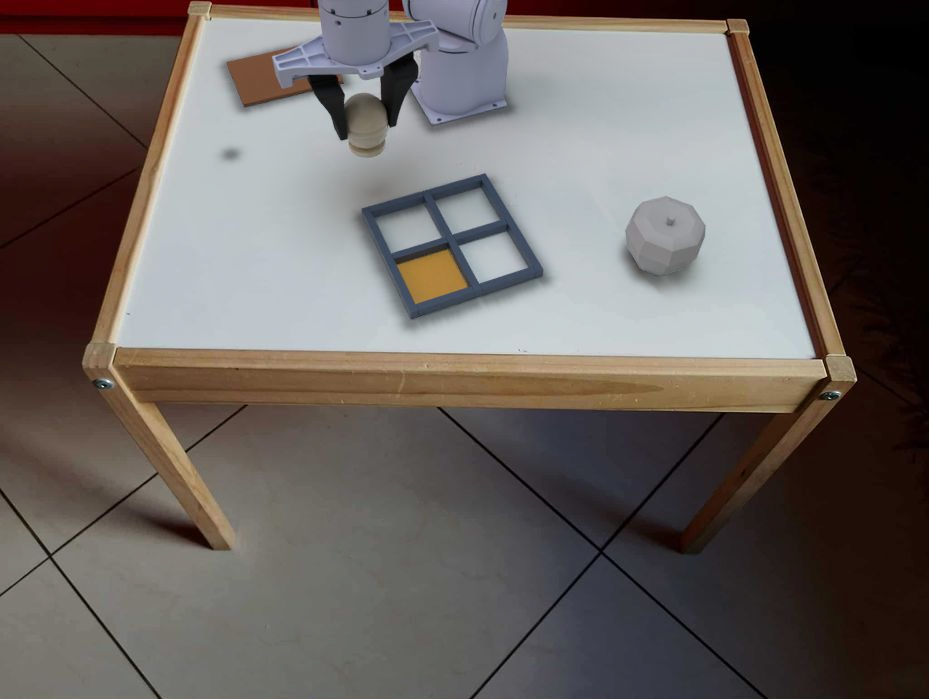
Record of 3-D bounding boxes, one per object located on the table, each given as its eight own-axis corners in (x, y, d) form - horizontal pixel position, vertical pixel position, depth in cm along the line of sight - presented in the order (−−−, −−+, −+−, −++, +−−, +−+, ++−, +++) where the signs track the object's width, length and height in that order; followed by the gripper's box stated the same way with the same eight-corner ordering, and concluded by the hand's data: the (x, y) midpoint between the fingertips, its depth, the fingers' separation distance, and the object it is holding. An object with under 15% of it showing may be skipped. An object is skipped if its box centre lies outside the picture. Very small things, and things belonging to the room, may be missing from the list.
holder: (484, 184, 82) (485, 172, 80) (541, 279, 75) (543, 269, 74) (362, 219, 78) (361, 208, 77) (410, 322, 72) (410, 312, 70)
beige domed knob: (380, 124, 76) (377, 78, 71) (396, 154, 74) (393, 107, 69) (338, 136, 75) (332, 89, 70) (353, 165, 73) (348, 119, 68)
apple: (614, 227, 79) (628, 183, 74) (688, 233, 79) (708, 189, 74) (618, 288, 75) (633, 246, 69) (696, 294, 75) (718, 252, 69)
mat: (323, 43, 93) (322, 40, 93) (343, 83, 89) (343, 80, 89) (227, 64, 90) (226, 61, 90) (244, 107, 86) (243, 104, 86)
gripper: (279, 46, 57) (304, 175, 69) (454, 5, 61) (450, 134, 72) (254, -7, 60) (282, 125, 72) (421, -42, 64) (422, 89, 75)
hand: (365, 126), depth 72 cm, fingers closed on beige domed knob, 4 cm apart
